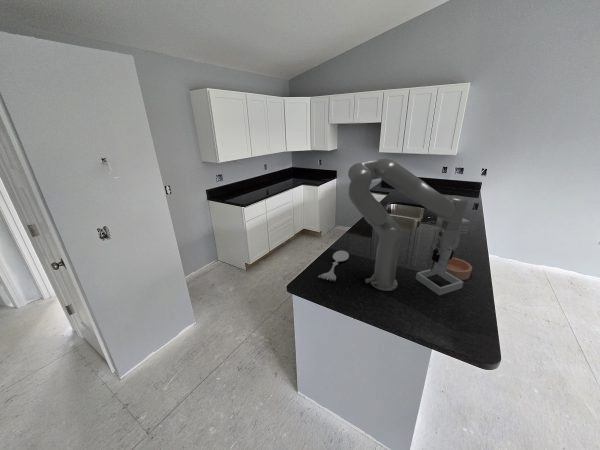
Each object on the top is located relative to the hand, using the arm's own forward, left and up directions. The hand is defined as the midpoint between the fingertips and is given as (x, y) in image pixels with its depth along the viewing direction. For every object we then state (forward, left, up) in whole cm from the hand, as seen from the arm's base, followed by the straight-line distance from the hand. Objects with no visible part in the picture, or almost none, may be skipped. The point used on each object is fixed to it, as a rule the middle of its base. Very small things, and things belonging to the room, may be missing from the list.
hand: (441, 259), depth 116 cm
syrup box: (0, 0, -7) cm, 7 cm away
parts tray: (+1, 0, -13) cm, 13 cm away
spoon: (-38, +32, -14) cm, 51 cm away
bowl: (+16, +4, -13) cm, 21 cm away
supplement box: (+63, +45, -14) cm, 78 cm away
